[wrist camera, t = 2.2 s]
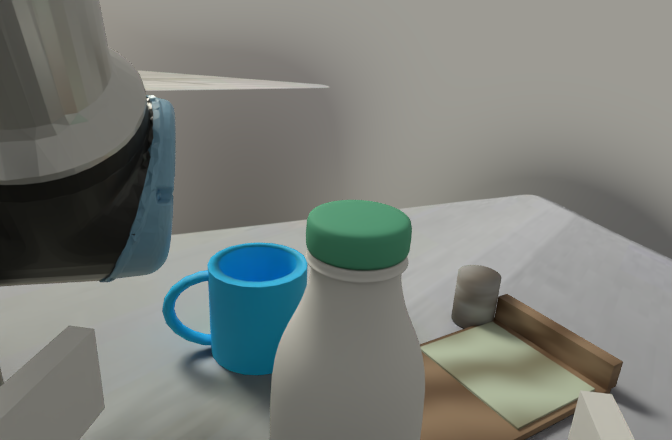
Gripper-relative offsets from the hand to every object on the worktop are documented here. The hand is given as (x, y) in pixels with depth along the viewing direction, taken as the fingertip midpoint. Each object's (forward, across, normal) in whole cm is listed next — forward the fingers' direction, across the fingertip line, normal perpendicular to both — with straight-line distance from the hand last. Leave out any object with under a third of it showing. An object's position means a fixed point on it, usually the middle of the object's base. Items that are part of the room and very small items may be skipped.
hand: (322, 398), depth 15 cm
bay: (+27, +7, -18) cm, 33 cm away
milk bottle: (+10, 0, -19) cm, 21 cm away
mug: (+27, -12, -18) cm, 35 cm away
